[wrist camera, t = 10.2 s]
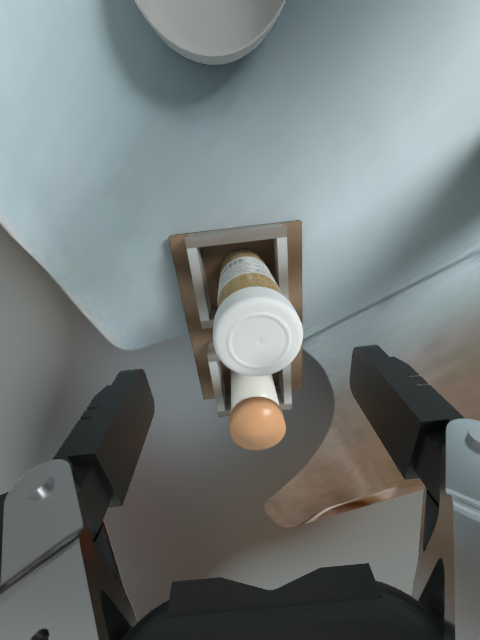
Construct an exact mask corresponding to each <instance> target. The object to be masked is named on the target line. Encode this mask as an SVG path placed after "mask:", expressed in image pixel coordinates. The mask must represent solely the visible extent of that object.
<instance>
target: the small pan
mask: <svg viewBox="0 0 480 640" xmlns="http://www.w3.org/2000/svg"><path fill="white" fill-rule="evenodd" d="M134 1H135V2H136V4H137V6H138V8H139V9H140V11H141V13H142V15H143V16H144V18H145V19H146V20H147V22H148V23H149V24H150V25H151V27H152V28H153V29H154V31H155V32H156V33H157V35H158V36H159V37H160V38H161V39H162V40H163V41H164V42H165V43H166V44H167V45H168V46H169V47H170V48H171V49H173V50H174V51H176V52H177V53H179V54H180V55H182V56H183V57H185V58H187V59H190V60H192V61H194V62H197V63H202V64H207V65H222V64H226V63H230V62H233V61H236V60H238V59H240V58H242V57H244V56H246V55H247V54H249V53H250V52H251V51H252V50H254V49H255V48H256V47H257V46H258V45H259V44H260V43H261V42H262V41H263V40H264V38H265V37H266V36H267V35H268V34H269V32H270V30H271V29H272V27H273V26H274V24H275V22H276V21H277V19H278V17H279V15H280V13H281V12H282V9H283V7H284V4H285V2H286V0H134Z"/></svg>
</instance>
